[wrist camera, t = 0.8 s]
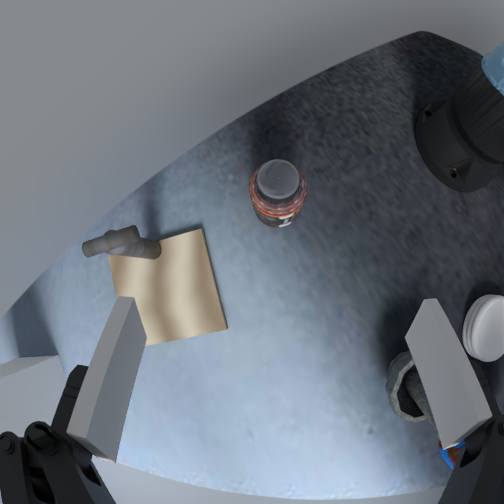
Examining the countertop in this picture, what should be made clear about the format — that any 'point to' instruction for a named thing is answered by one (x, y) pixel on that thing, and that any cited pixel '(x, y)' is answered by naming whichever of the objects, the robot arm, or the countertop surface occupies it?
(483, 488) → the robot arm
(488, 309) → the white round container
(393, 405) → the mortar and pestle
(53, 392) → the milk
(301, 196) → the supplement bottle
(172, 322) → the headphone stand
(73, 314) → the countertop surface
